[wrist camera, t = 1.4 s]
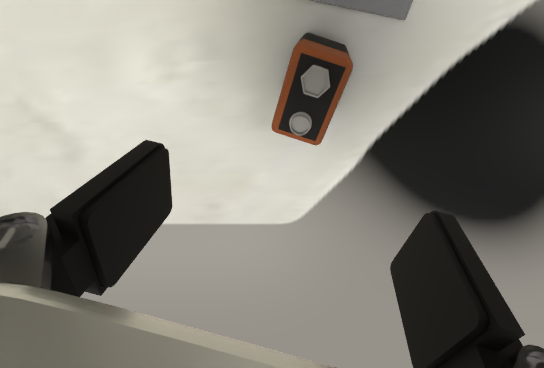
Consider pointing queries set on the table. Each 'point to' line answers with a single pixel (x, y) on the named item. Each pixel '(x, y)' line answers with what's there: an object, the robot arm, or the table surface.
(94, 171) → the table surface
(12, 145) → the table surface
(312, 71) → the battery
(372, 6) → the mat
